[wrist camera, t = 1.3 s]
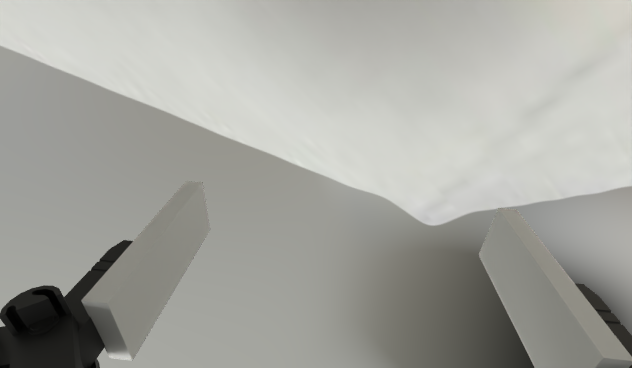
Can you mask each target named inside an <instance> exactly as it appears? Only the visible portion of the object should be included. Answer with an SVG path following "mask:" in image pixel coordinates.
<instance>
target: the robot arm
mask: <svg viewBox="0 0 632 368" xmlns="http://www.w3.org/2000/svg"><path fill="white" fill-rule="evenodd" d="M209 231H210V225H209V219H208V213H207V206H206V200H205V194H204V188H203V183H202V182H192V181H186V182H185V183H184V184H183V185H182V186H181V188H180V189H179V190H178V191H177V192H176V193H175V194H174V196H173V197H172V198H171V199H170V200H169V201H168V202H167V204H166V205H165V206H164V207H163V208H162V209H161V210H160V211H159V213H158V214H157V215H156V216H155V217H154V218H153V219H152V221H151V222H150V223H149V224H148V225H147V226H146V227H145V229H144V230H143V231H142V232H141V233H140V234H139V235H138V237H137V238H136V239H135V240H134V241H126V240H123V241H122V242H120V243H119V244H117V245H116V246H114V247H112V248H111V249H110V250H108V251H107V253H106V254H105V255H104V256H103V257H102V258H101V259H100V261H99V262H97V263H96V264H95V265H94V266H93V267H92V269H91V271H89V272H88V273H87V274H86V275H85V276H84V277H83V278H82V279H81V280H80V281H79V282H78V283H77V284H76V285H75V286H74V288H73V289H72V290H71V291H70V292H69V293H68V294H67V295H66V296H65V297H63V295H62V293H61V291H60V289H59V288H57V287H54V286H40V287H36V288H32V289H30V290H27V291H25V292H23V293H21V294H19V295H18V296H16V297H15V298H13V299H12V300H10V301H9V303H7V304H6V305H5V306H4V307H3V308H2V310H1V313H0V319H1V320H2V322H3V323H4V324H5V327H0V368H100V367H99V362H98V360H97V357H98V356H99V354H100V353H101V351H102V350H103V349H104V347H105V349H106V351H107V353H108V355H109V357H110V358H116V359H124V360H133V359H134V358H135V356H136V354H137V353H138V351H139V349H140V347H141V346H142V344H143V342H144V341H145V339H146V337H147V336H148V334H149V332H150V331H151V329H152V327H153V325H154V324H155V322H156V320H157V319H158V317H159V315H160V314H161V312H162V310H163V309H164V307H165V305H166V304H167V302H168V300H169V299H170V297H171V295H172V293H173V292H174V290H175V288H176V287H177V285H178V283H179V282H180V280H181V278H182V277H183V275H184V273H185V272H186V270H187V268H188V267H189V265H190V263H191V261H192V260H193V258H194V256H195V254H196V253H197V251H198V250H199V248H200V246H201V245H202V243H203V241H204V240H205V238H206V236H207V234H208V233H209ZM479 257H480V259H481V261H482V263H483V265H484V267H485V269H486V271H487V273H488V275H489V277H490V279H491V281H492V283H493V285H494V287H495V289H496V291H497V293H498V295H499V297H500V299H501V301H502V303H503V305H504V307H505V309H506V311H507V313H508V315H509V317H510V319H511V321H512V323H513V325H514V327H515V329H516V331H517V333H518V335H519V337H520V339H521V341H522V343H523V345H524V347H525V349H526V351H527V353H528V355H529V357H530V359H531V361H532V363H533V365H534V367H535V368H632V335H631V334H630V333H629V332H628V331H627V329H626V328H625V327H624V326H623V325H621V324H620V321H619V320H618V319H617V317H616V316H615V315H614V314H612V313H611V310H610V309H609V308H608V307H607V305H606V304H605V303H604V302H603V301H602V299H601V298H600V297H599V296H598V295H596V294H595V293H594V292H593V291H591V290H590V289H589V288H587V287H586V286H585V285H584V284H575V283H574V282H573V281H572V280H571V279H570V277H569V276H568V275H567V273H566V272H565V271H564V270H563V268H562V267H561V266H560V264H558V262H557V261H556V260H555V258H554V257H553V256H552V254H551V253H550V252H549V250H548V249H547V248H546V247H545V246H544V244H543V243H542V241H541V240H540V239H539V238H538V236H537V235H536V234H535V233H534V231H533V230H532V229H531V228H530V226H529V225H528V224H527V222H526V221H525V220H524V218H523V217H522V216H521V215H520V214H519V212H518V211H517V210H515V209H505V208H498V210H497V212H496V215H495V217H494V220H493V222H492V224H491V227H490V229H489V231H488V234H487V236H486V239H485V241H484V244H483V246H482V249H481V251H480V253H479Z"/></svg>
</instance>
